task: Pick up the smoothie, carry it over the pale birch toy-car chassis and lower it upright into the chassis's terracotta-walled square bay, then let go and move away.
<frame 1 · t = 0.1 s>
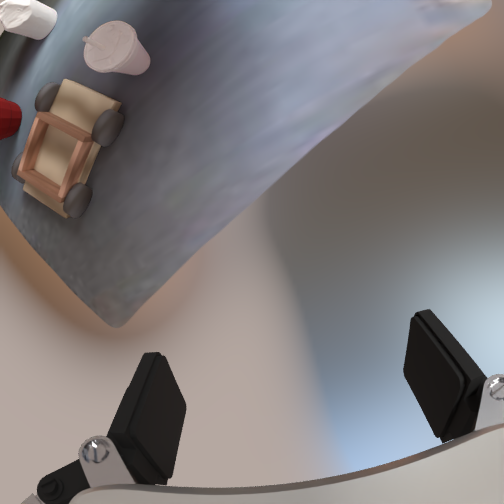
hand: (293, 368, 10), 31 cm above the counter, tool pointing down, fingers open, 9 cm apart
chassis: (70, 147, 37), on the counter
plastic cup: (12, 118, 34), on the counter
smoothie: (138, 63, 33), on the counter
roll: (45, 24, 29), on the counter
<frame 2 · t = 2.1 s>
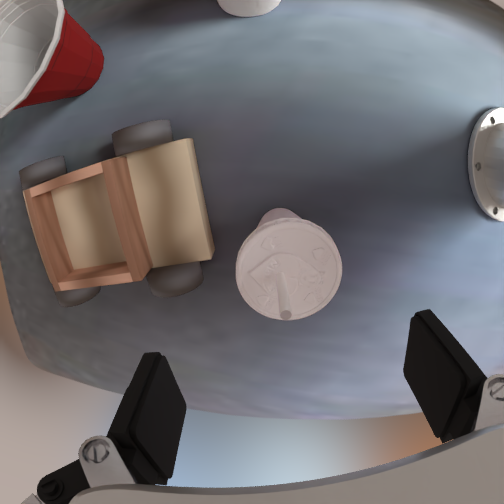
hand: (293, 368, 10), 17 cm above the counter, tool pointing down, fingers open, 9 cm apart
chassis: (113, 214, 26), on the counter
plastic cup: (82, 68, 22), on the counter
smoothie: (279, 227, 27), on the counter
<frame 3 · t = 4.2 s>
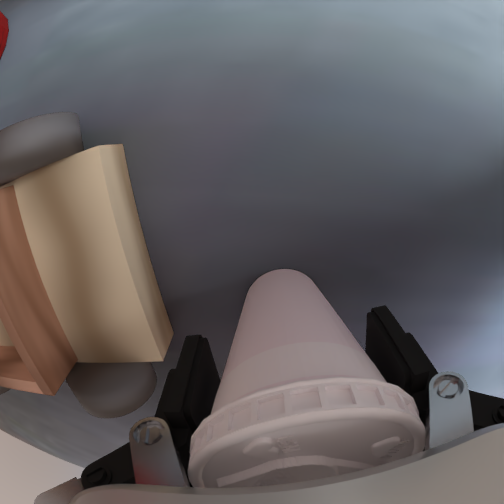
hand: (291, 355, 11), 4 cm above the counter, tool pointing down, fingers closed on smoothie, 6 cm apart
chassis: (23, 270, 15), on the counter
smoothie: (282, 301, 15), on the counter, touching gripper
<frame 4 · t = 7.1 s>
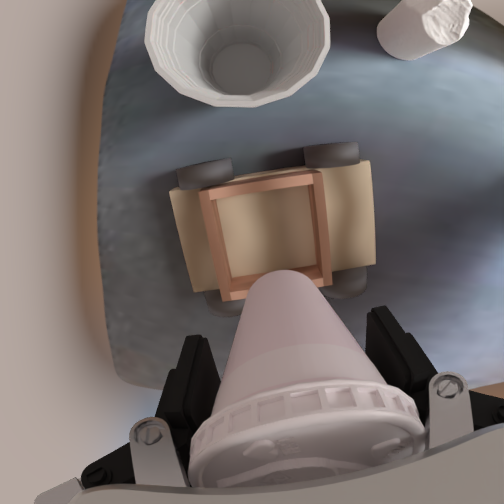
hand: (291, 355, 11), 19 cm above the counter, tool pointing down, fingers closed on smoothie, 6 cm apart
chassis: (277, 221, 29), on the counter
plastic cup: (244, 68, 24), on the counter
smoothie: (282, 301, 15), point 15 cm above the counter, touching gripper
roll: (399, 37, 22), on the counter
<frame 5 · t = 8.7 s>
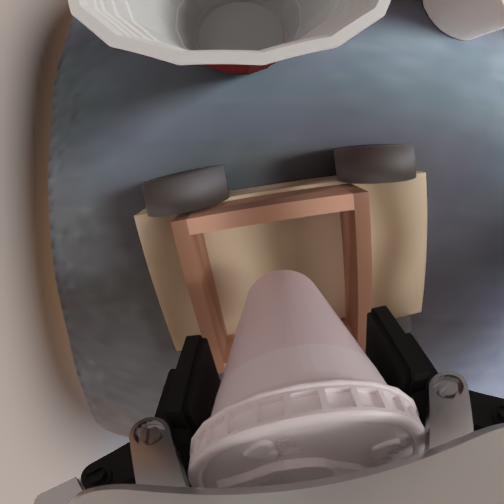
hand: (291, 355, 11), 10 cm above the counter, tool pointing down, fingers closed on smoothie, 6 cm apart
chassis: (291, 256, 21), on the counter
plastic cup: (244, 35, 16), on the counter
smoothie: (282, 302, 15), point 6 cm above the counter, touching gripper
roll: (449, 10, 14), on the counter
when the fingers open (7 cm above the counter, at t = 10.2 s): smoothie stays where it is, resting on chassis.
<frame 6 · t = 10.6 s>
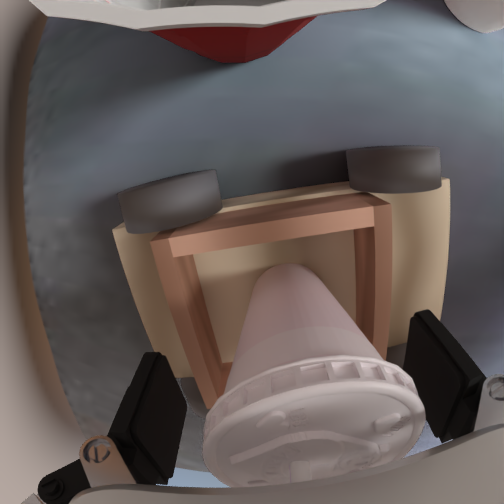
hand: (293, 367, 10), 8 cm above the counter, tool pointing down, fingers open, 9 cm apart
chassis: (295, 273, 18), on the counter
plastic cup: (240, 20, 13), on the counter
smoothie: (287, 294, 16), point 2 cm above the counter, touching chassis
roll: (466, 0, 11), on the counter
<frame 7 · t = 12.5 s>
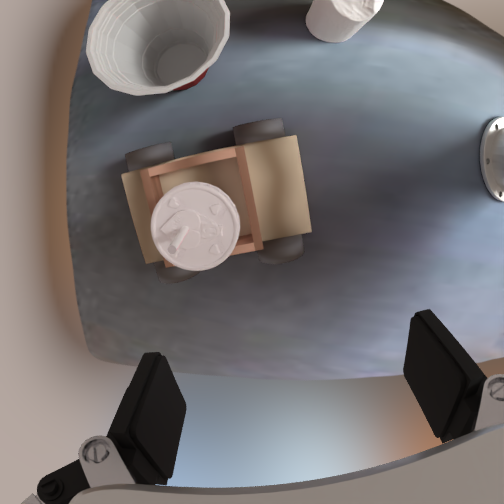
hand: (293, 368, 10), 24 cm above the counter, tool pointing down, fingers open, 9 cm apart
chassis: (217, 197, 32), on the counter
plastic cup: (184, 65, 27), on the counter
smoothie: (209, 202, 30), point 2 cm above the counter, touching chassis
roll: (329, 22, 26), on the counter
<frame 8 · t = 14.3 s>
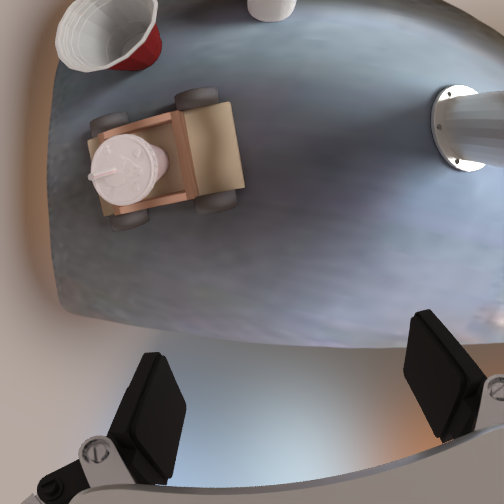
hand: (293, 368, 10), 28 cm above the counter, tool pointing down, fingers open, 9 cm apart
chassis: (165, 159, 35), on the counter
plastic cup: (143, 50, 30), on the counter
smoothie: (155, 162, 33), point 2 cm above the counter, touching chassis
roll: (270, 5, 28), on the counter
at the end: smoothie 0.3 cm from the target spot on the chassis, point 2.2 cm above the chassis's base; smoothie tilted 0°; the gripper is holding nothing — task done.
